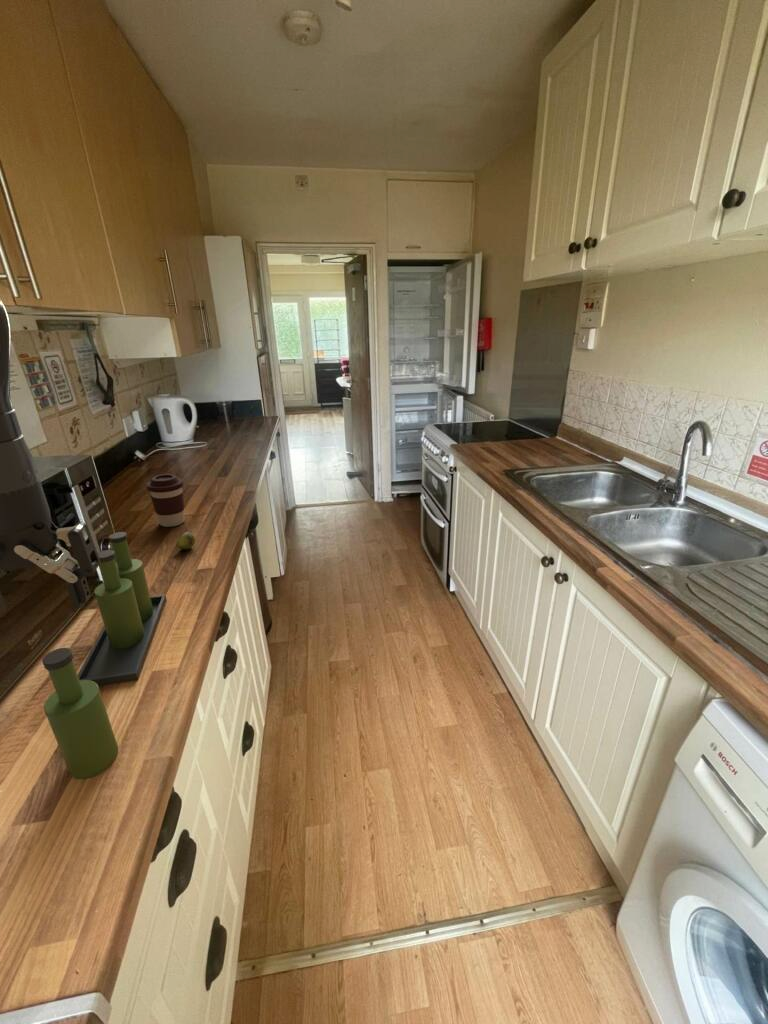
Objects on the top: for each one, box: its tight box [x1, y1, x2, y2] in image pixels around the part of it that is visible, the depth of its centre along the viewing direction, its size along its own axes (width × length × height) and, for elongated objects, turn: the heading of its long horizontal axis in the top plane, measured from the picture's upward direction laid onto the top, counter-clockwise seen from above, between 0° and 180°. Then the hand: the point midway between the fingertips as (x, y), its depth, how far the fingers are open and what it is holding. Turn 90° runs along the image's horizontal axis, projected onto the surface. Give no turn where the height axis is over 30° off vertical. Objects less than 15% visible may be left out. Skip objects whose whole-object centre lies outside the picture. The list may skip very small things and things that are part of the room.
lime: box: [176, 531, 196, 551], centre depth 118 cm, size 4×5×5 cm
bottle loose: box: [41, 647, 119, 780], centre depth 58 cm, size 6×6×19 cm
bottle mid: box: [94, 549, 145, 649], centre depth 80 cm, size 6×6×19 cm
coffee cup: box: [146, 473, 186, 528], centre depth 131 cm, size 10×10×15 cm
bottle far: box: [108, 531, 154, 622], centre depth 87 cm, size 6×6×19 cm
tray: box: [77, 594, 168, 687], centre depth 84 cm, size 24×10×2 cm, turn 14°
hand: (40, 609), depth 51 cm, fingers open, 8 cm apart
